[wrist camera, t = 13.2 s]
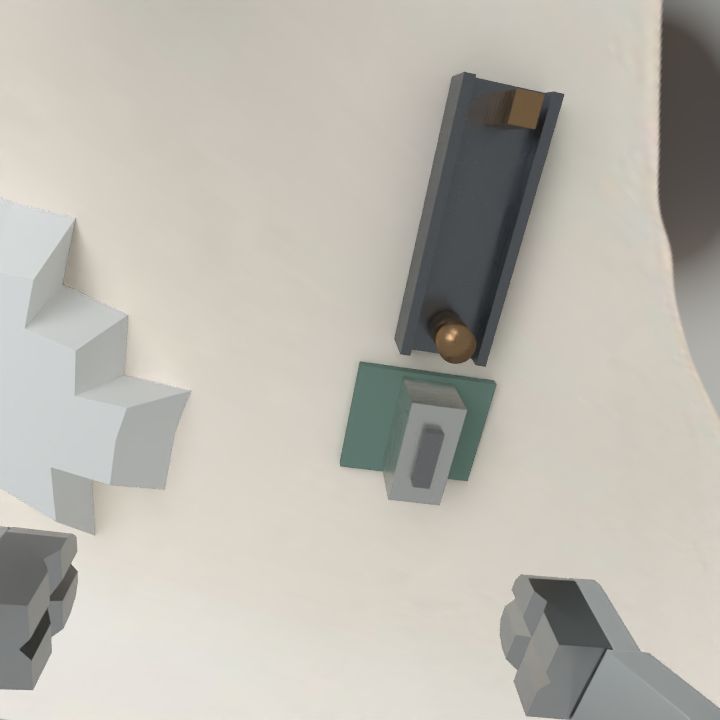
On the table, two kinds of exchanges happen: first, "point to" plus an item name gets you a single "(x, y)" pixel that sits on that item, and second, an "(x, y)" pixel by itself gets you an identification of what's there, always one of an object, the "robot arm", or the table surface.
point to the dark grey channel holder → (474, 216)
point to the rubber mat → (378, 406)
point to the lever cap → (422, 440)
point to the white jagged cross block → (69, 382)
